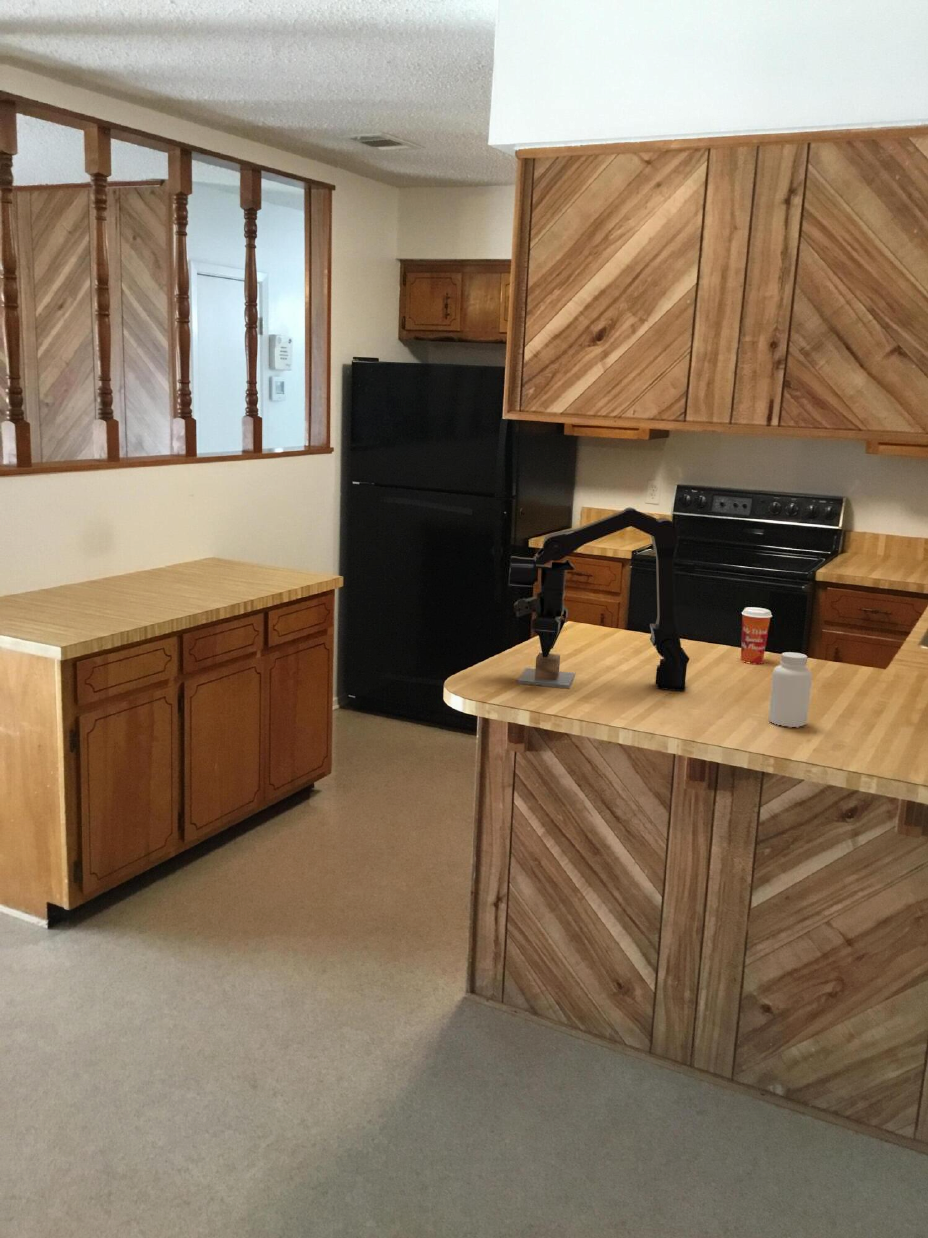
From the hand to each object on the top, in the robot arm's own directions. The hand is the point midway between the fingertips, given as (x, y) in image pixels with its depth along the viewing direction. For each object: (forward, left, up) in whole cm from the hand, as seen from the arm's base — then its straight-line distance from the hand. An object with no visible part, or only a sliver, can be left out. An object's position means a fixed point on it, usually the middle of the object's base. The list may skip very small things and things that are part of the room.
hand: (547, 652), depth 254 cm
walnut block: (0, 0, -6) cm, 6 cm away
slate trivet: (0, 0, -7) cm, 7 cm away
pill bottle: (-54, +15, -7) cm, 57 cm away
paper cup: (-49, -40, -7) cm, 64 cm away
